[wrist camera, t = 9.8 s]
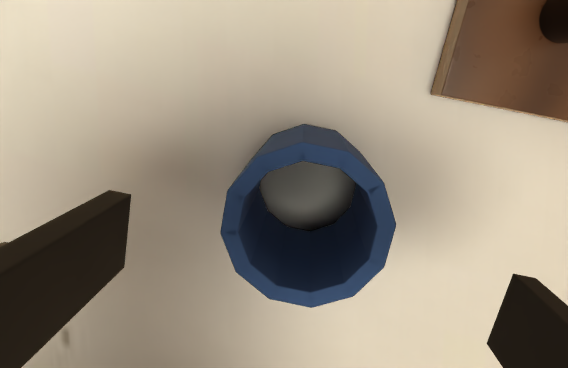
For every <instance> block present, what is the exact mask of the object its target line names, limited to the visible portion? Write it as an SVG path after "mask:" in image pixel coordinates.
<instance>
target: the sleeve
mask: <svg viewBox="0 0 568 368" xmlns="http://www.w3.org/2000/svg"><path fill="white" fill-rule="evenodd" d="M301 161H307V162H312V163H316V164H321V165H326V166H331V167H336V168H340V169H341V170H342V171H343V172H345V173H346V174H347V175H348V176H349V177H350V178H351V179H352V180H354V181H355V182H356V186H355V190H354V194H353V198H352V202H351V206H350V208H349V209H348V210H347V211H346V212H345V213H344V214H343V215H342V216H341V217H340V218H339V219H338V220H337V221H336V222H335V223H334V224H332V225H329V226H326V227H322V228H319V229H316V230H312V231H306V230H301V229H296V228H292V227H287V226H285V225H284V224H283V223H281V222H280V221H279V220H278V219H277V218H276V217H274V216H273V215H272V214H271V213H270V212H268V210H267V208H266V205H265V202H264V199H263V197H262V194H261V191H260V189H259V187H260V182H261V179H262V178H263V177H264V176H265V175H266V174H267V173H268V172H270V171H273V170H276V169H279V168H282V167H285V166H288V165H291V164H295V163H298V162H301ZM395 228H396V222H395V219H394V215H393V212H392V208H391V205H390V202H389V198H388V195H387V191H386V188H385V185H384V182H383V181H382V180H381V178H380V177H379V176H378V174H377V173H376V172H375V171H374V169H373V168H372V167H371V166H370V164H369V163H368V162H367V160H366V159H365V158H364V157H363V155H362V154H361V153H360V152H359V151H358V150H357V149H356V148H355V147H354V146H353V145H352V144H351V143H349V142H348V141H347V140H346V139H345V138H344V137H343V136H342V135H341V134H339V133H338V132H337V131H335V130H331V129H326V128H321V127H316V126H311V125H306V124H303V125H300V126H297V127H294V128H291V129H288V130H285V131H282V132H279V133H276V134H273V135H272V136H271V137H270V138H269V140H268V141H267V142H266V143H265V144H264V145H263V146H262V148H261V149H260V150H259V151H258V152H257V153H256V154H255V156H254V157H253V158H252V159H251V161H250V162H249V163H248V164H247V166H246V167H245V168H244V170H243V171H242V172H241V174H240V175H239V176H238V177H237V179H236V180H235V181H234V183H233V184H232V185H231V187H230V188H229V189H228V191H227V196H226V202H225V208H224V214H223V220H222V226H221V236H222V238H223V241H224V243H225V246H226V248H227V251H228V253H229V256H230V258H231V261H232V263H233V266H234V268H235V271H236V272H237V273H238V274H239V275H240V276H242V277H243V278H244V279H245V280H246V281H248V282H249V283H250V284H251V285H253V286H254V287H255V288H256V289H258V290H259V291H260V292H261V293H262V294H264V295H265V296H266V297H267V298H269V299H272V300H277V301H282V302H287V303H291V304H296V305H301V306H306V307H316V306H320V305H323V304H327V303H331V302H334V301H338V300H342V299H346V298H349V297H353V296H354V295H355V294H356V293H357V292H358V291H360V290H361V289H362V288H363V287H364V286H365V285H366V284H367V283H368V282H369V281H370V280H371V279H372V278H373V277H374V276H375V275H376V274H377V273H379V272H380V271H381V270H382V269H383V268H384V266H385V263H386V259H387V256H388V252H389V249H390V245H391V242H392V238H393V235H394V231H395Z"/></svg>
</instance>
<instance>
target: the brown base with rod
mask: <svg viewBox="0 0 568 368" xmlns="http://www.w3.org/2000/svg"><path fill="white" fill-rule="evenodd" d="M431 95H436V96H440V97H445V98H450V99H455V100H460V101H465V102H470V103H475V104H480V105H485V106H490V107H495V108H500V109H505V110H510V111H515V112H520V113H525V114H529V115H534V116H539V117H544V118H549V119H554V120H559V121H564V122H568V0H457V3H456V6H455V10H454V13H453V17H452V20H451V24H450V27H449V31H448V34H447V38H446V42H445V45H444V49H443V52H442V56H441V59H440V63H439V66H438V70H437V73H436V77H435V80H434V84H433V87H432V91H431Z"/></svg>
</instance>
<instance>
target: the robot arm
mask: <svg viewBox="0 0 568 368" xmlns="http://www.w3.org/2000/svg"><path fill="white" fill-rule="evenodd" d="M130 202H131V194H126V193H121V192H116V191H111V190H109V191H107V192H105V193H103V194H101V195H99V196H97V197H95V198H93V199H91V200H89V201H88V202H86V203H84V204H82V205H80V206H78V207H76V208H74V209H72V210H70V211H68V212H66V213H65V214H63V215H61V216H59V217H57V218H55V219H53V220H51V221H49V222H47V223H45V224H44V225H42V226H40V227H38V228H36V229H34V230H32V231H30V232H28V233H26V234H24V235H22V236H21V237H19V238H17V239H15V240H13V241H11V242H9V243H8V242H3V243H0V368H21V367H22V366H23V365H24V364H25V363H26V362H27V361H29V360H30V359H31V358H32V357H33V356H34V355H35V354H36V353H37V352H38V351H39V350H40V349H41V348H42V347H43V346H44V345H45V344H46V343H47V342H48V341H49V340H50V339H51V338H52V337H53V336H54V335H55V334H56V333H57V332H58V331H59V330H60V329H61V328H62V327H63V326H64V325H65V324H66V323H67V322H69V321H70V320H71V319H72V318H73V317H74V316H75V315H76V314H77V313H78V312H79V311H80V310H81V309H82V308H83V307H84V306H85V305H86V304H87V303H88V302H89V301H90V300H91V299H92V298H93V297H94V296H95V295H96V294H97V293H98V292H99V291H100V290H101V289H102V288H103V287H104V286H105V285H106V284H107V283H108V282H110V281H111V280H112V279H113V278H114V277H115V276H116V275H117V274H118V273H119V272H120V271H121V270H122V269H123V268H124V264H125V254H126V243H127V233H128V223H129V212H130ZM487 344H488V346H489V347H490V349H491V350H492V352H493V353H494V355H495V356H496V358H497V359H498V361H499V362H500V364H501V365H502V367H503V368H568V306H567V305H566V304H565V303H564V302H563V301H562V300H560V299H559V298H558V297H557V296H556V295H555V294H554V293H552V292H551V291H550V290H549V289H548V288H547V287H545V286H544V285H543V284H542V283H541V282H540V281H538V280H537V279H536V278H532V277H527V276H522V275H517V274H513V276H512V278H511V281H510V284H509V286H508V289H507V292H506V294H505V297H504V299H503V302H502V305H501V307H500V310H499V313H498V315H497V318H496V320H495V323H494V326H493V328H492V331H491V334H490V336H489V339H488V342H487Z"/></svg>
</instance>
